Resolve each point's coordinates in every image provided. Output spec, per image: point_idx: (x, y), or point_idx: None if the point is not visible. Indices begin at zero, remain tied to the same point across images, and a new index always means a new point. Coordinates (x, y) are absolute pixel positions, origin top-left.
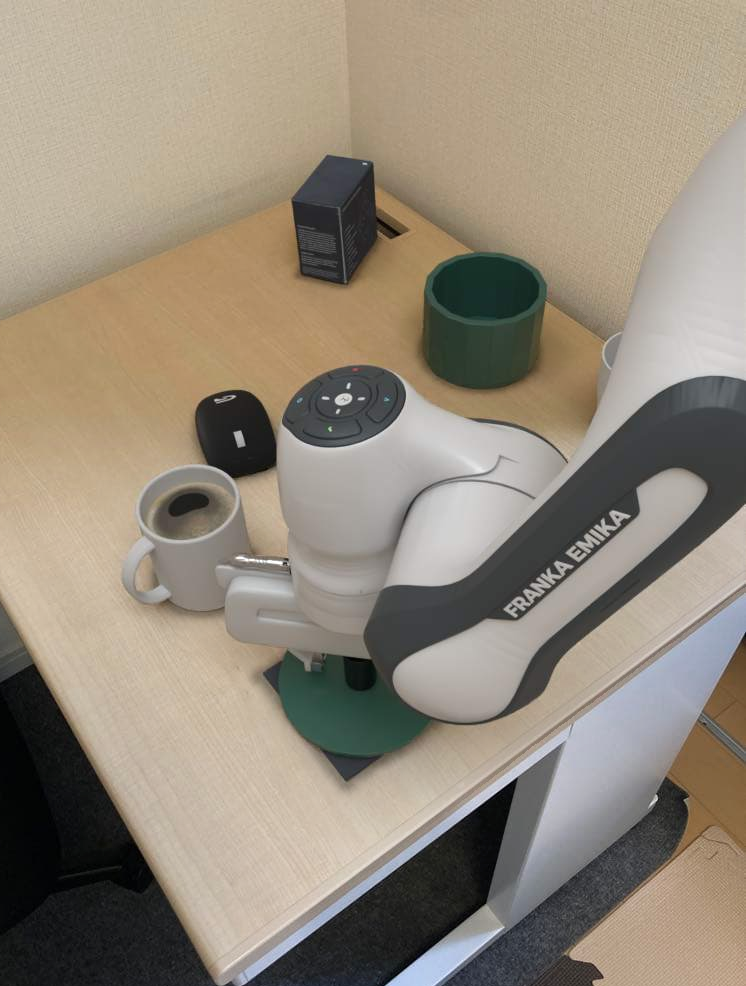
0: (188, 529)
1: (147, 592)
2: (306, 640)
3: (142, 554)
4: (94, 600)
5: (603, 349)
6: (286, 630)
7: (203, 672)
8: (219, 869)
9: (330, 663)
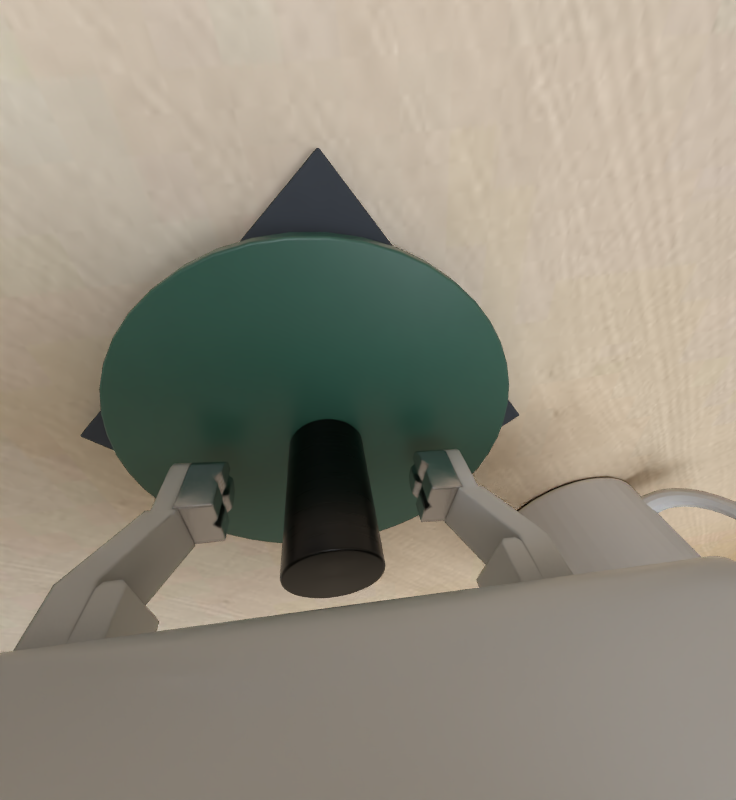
0: None
1: (692, 505)
2: (580, 705)
3: None
4: (724, 465)
5: None
6: (716, 781)
7: (617, 397)
8: None
9: (395, 459)
